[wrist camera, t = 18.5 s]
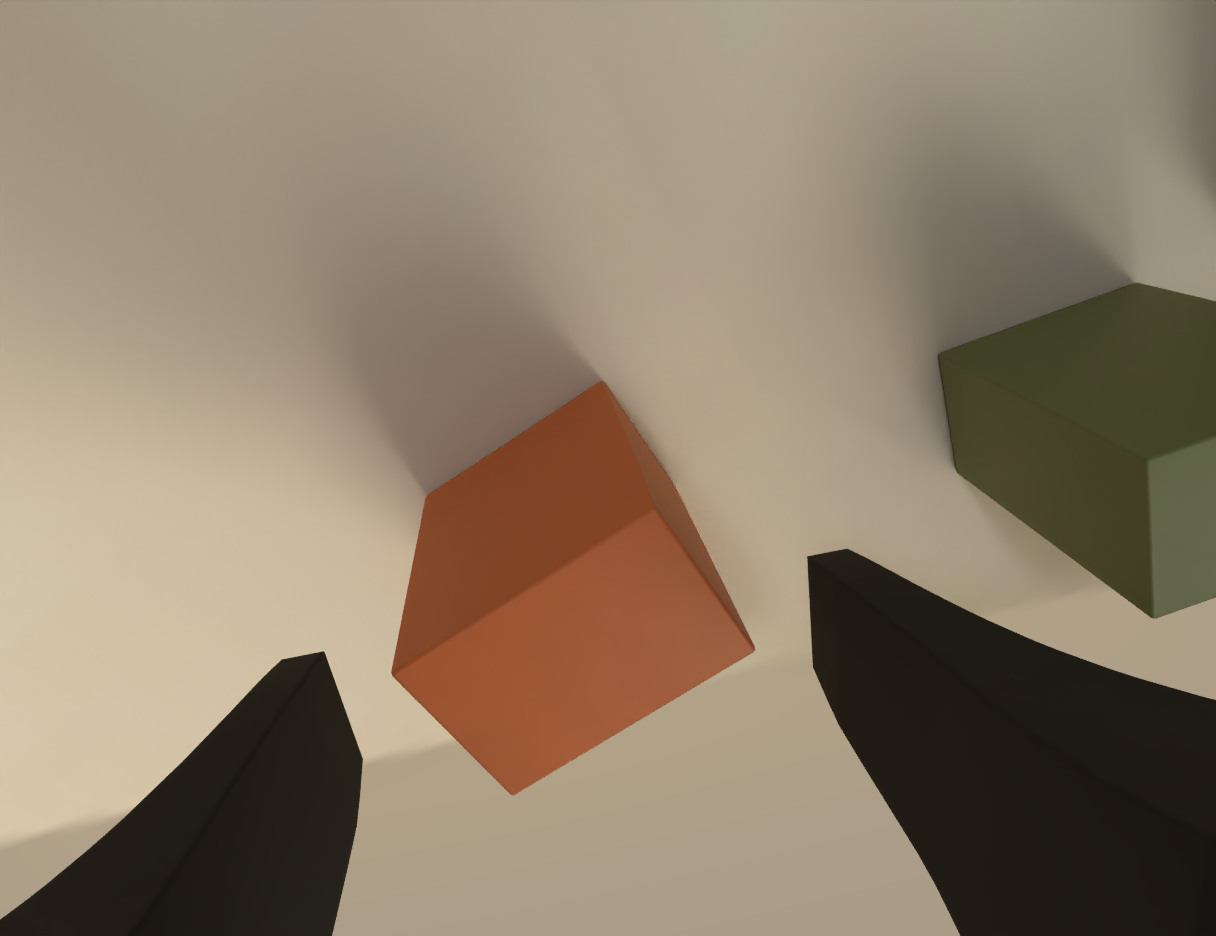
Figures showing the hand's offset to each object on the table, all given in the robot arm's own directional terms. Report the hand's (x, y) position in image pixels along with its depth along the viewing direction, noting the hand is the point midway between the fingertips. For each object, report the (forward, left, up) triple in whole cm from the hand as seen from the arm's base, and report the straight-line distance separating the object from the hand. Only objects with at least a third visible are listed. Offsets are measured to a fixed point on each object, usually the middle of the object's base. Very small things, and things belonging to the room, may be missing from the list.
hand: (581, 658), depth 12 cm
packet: (-1, -11, -6) cm, 12 cm away
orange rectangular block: (0, 0, -6) cm, 6 cm away
